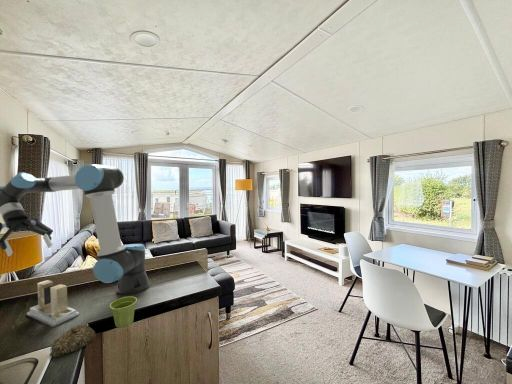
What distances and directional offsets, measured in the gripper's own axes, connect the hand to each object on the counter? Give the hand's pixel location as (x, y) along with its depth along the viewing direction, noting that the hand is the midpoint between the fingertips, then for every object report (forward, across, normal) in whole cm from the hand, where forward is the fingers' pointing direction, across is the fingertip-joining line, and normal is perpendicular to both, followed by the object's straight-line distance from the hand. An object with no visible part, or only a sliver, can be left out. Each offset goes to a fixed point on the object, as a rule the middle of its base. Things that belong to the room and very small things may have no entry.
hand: (31, 250), depth 101 cm
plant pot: (+53, -8, +16) cm, 56 cm away
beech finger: (+25, 0, -10) cm, 27 cm away
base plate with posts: (+29, 0, -7) cm, 30 cm away
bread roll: (+48, +6, +11) cm, 50 cm away
